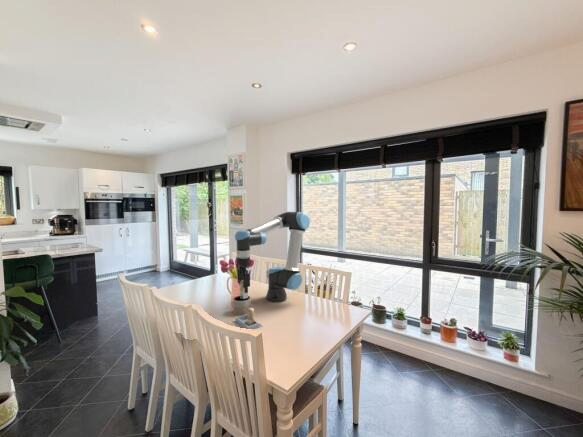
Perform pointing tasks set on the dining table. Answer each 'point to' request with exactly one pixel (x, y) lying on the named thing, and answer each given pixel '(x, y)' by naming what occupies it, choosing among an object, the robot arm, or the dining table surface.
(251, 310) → the peg
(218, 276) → the dining table surface
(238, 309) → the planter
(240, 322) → the board
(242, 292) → the peg
